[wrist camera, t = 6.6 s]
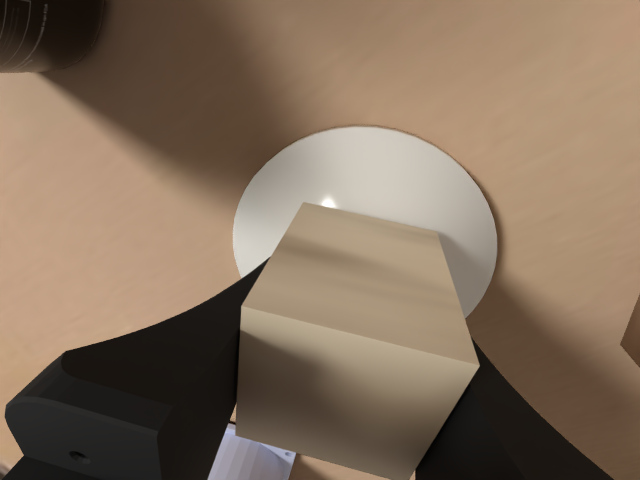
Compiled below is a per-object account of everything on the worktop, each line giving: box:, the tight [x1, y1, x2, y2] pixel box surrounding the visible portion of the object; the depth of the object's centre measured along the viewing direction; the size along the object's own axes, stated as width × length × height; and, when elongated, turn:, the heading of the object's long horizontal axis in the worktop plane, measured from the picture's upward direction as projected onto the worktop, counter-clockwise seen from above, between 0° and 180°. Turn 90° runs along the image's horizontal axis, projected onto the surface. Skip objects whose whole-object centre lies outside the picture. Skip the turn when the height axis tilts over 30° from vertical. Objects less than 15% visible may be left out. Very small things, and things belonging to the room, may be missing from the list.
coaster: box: [233, 125, 497, 318], centre depth 14 cm, size 11×11×1 cm
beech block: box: [235, 202, 480, 480], centre depth 10 cm, size 5×5×6 cm
